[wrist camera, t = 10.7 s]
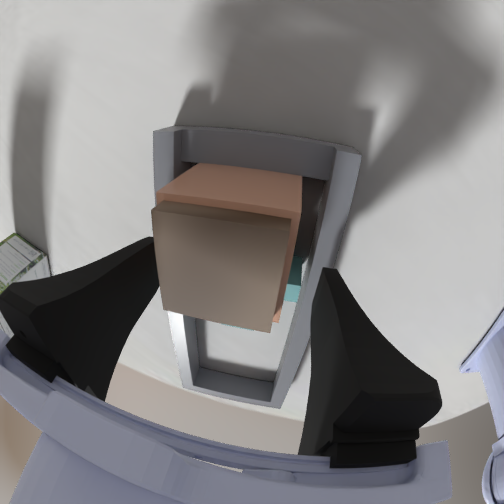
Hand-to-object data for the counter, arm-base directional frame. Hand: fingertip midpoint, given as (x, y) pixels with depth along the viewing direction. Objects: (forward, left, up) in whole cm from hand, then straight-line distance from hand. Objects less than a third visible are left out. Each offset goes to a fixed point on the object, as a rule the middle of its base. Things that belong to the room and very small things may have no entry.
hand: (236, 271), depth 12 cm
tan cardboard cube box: (0, -2, -3) cm, 4 cm away
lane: (0, +4, -3) cm, 5 cm away
